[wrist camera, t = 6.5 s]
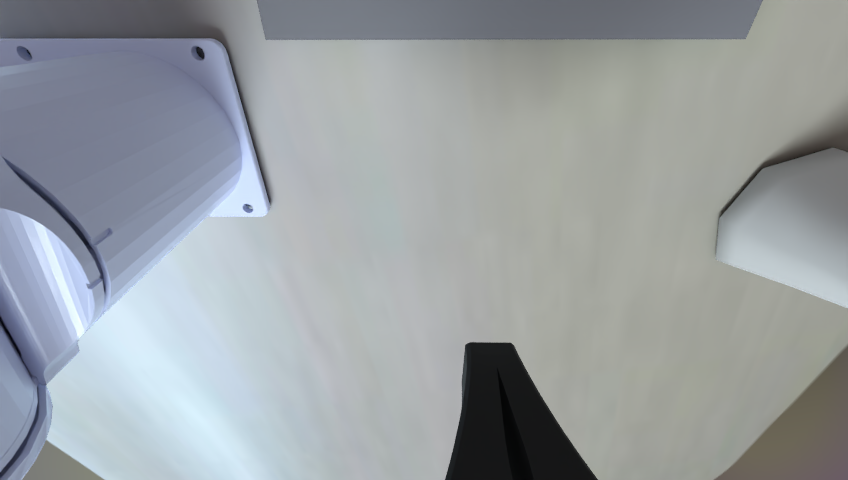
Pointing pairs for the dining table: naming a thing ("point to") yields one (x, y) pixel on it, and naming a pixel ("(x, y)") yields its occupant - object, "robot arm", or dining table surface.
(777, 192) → the flask
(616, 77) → the dining table surface
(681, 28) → the cap plate
